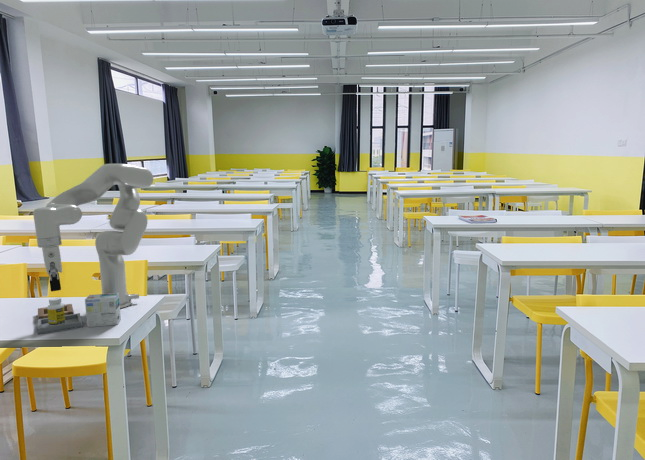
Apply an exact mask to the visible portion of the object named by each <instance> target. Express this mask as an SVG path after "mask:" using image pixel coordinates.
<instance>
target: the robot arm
mask: <svg viewBox="0 0 645 460" xmlns="http://www.w3.org/2000/svg"><path fill="white" fill-rule="evenodd" d="M153 182H154V175H153V173H152V172H151V171H150V170H149V169H148V168H146V167H141V166H137V165H133V164H132V165H131V164H126V163H105V164H102V165H101V166H99V168H96V170H95V171H93V172H92V173H91V174H90V175H89V176H88V177H87V178H86V179H85V180H83V181H82V182H81V183H79V184H77V185H75V186H72V187H71V188H68V189H67V190H64V191H63V192H61V193H59V194H58V195H56V196H55V197H54V198H53V199H51V201H49V202H48V203H47V204H46V205H45V206H44V207H43V206H42V207H37V208H35V209H33V214H32V215H33V221H34V229H35V237H36V242H37V247H38V248H41V250H42V257H43V262H44V268H45V270H46V274H47V275H48V277H49V287H50V292H57V291H58V292H59V291H61V290H62V287H61V280H60V279H61V278H60V273H63V266H62V265H63V264H62V256H61V251H60V246H61V245H63V244H62V235H61V229H60V228H61V227H60V226H67V225H75V224H77V223H79V221H81V219H82V217H83V212H82V209H80V207H78V206H82V205H85V204H89V203H92V202H95V201H98V200H99V199H100V198H102V197H103V196H104V194H106V193H107V192H108V191H109V190H110V189H111V188H112V187H114V186H115V185H117V187H118V190H119V199H118V201H117V203H116V205H115V208H114V210H113V212H112V213H111V216H110V218H109V226H110V228H111V229H113V230H105V231H102V232H100V233H98V235H97V236H96V238H95V243H94V244H95V249H96V253H97V256H98V261H99V272H100V273H99V274H100V283H101V285H100V286H101V294H110V293H119V303H120V309H123V308H126V307H129V306H131V305H132V300H133V299H134V300H137V299H140V294H139V293H131V294H129V293H128V291H127V278H126V264H125V260H124V257H123V256H131V255H132V254H134V253H135V252H136V251H137V249H138V248H139V245H140V243H141V241H142V238H143V236H144V234H145V232H146V229H147V227H148V216H147V214H146V212H145V211H143V210H142V209H140V205H141V198H140V195H139V192H138V189H147V188H150V187H151V185H153Z"/></svg>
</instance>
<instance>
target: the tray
mask: <svg viewBox="0 0 645 460" xmlns="http://www.w3.org/2000/svg"><path fill="white" fill-rule="evenodd" d="M79 328H83V320H82V316H81V313H80V312H79V313H74V314H71V315H65V324H61V325H54V326H49V323H48V318H44V319H38V318H37V335H43V334H48V333H54V332H55V333H56V332H61V331H67V330H73V329H74V330H75V329H79Z"/></svg>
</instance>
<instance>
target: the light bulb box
mask: <svg viewBox="0 0 645 460" xmlns="http://www.w3.org/2000/svg"><path fill="white" fill-rule="evenodd" d="M84 305H85V313H86V314H85V315H86V327H87V328H93V327H94V328H95V327H107V326H116V325H119V323H120V321H121V320H122V317H121V308H120V303H119V293H110V294H102V293H99V294H98V293H96V294H89V295H87V297H86V298H84Z"/></svg>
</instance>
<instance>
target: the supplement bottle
mask: <svg viewBox="0 0 645 460" xmlns="http://www.w3.org/2000/svg"><path fill="white" fill-rule="evenodd" d="M64 305H65V304H64V303H62V298H61V297H59V296H57V297H51V298H49V299H48V305H47V311H48V323H49V326H54V325H61V324H65V312H64Z"/></svg>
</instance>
